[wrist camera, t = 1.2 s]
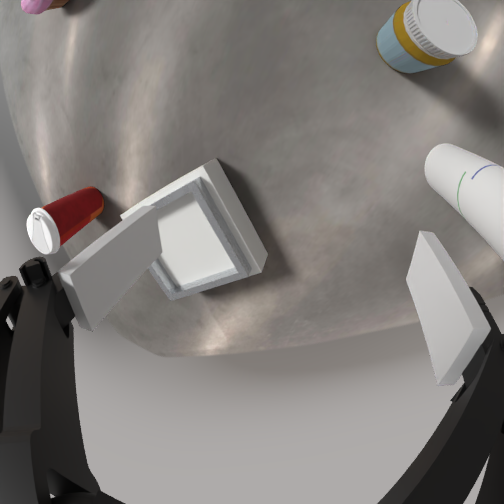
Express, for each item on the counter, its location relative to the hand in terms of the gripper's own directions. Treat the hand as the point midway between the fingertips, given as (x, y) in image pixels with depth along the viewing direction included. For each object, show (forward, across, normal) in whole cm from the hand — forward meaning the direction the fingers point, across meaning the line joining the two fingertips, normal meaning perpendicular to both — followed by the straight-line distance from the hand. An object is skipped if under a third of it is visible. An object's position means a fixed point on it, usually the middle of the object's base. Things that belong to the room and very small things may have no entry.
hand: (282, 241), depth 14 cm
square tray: (+25, -16, -12) cm, 32 cm away
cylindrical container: (+26, +20, 0) cm, 32 cm away
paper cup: (+26, -36, -8) cm, 45 cm away
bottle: (+26, +12, +16) cm, 32 cm away
